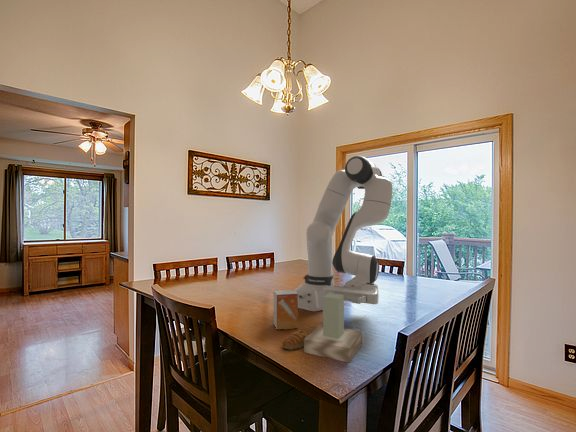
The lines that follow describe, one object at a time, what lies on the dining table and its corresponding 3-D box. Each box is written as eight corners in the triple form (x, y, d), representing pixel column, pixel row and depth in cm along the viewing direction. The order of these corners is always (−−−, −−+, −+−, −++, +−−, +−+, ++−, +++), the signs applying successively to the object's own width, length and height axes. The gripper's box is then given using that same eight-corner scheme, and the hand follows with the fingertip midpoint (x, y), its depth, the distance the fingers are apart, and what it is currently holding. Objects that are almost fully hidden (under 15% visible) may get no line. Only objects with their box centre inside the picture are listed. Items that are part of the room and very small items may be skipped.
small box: (276, 330, 108) (276, 294, 108) (273, 324, 114) (273, 290, 114) (298, 328, 110) (298, 293, 110) (294, 322, 116) (293, 289, 116)
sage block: (323, 335, 93) (323, 296, 93) (328, 330, 97) (328, 292, 97) (338, 338, 91) (338, 298, 91) (343, 332, 95) (343, 294, 95)
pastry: (293, 354, 91) (293, 341, 91) (277, 348, 95) (276, 335, 95) (311, 343, 98) (311, 331, 98) (295, 338, 102) (295, 327, 102)
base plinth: (304, 352, 91) (304, 338, 91) (321, 335, 103) (321, 323, 103) (349, 362, 85) (349, 347, 85) (361, 343, 97) (361, 330, 97)
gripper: (329, 279, 121) (316, 287, 109) (381, 285, 111) (373, 293, 99) (329, 295, 121) (316, 304, 109) (381, 302, 112) (373, 313, 99)
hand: (344, 299), depth 104 cm, fingers open, 8 cm apart
